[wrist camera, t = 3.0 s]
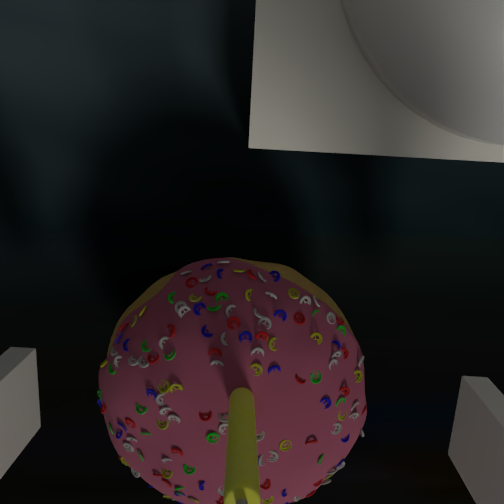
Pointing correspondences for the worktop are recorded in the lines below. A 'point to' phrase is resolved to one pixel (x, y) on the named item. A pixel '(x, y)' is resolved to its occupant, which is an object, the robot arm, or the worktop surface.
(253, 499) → the cupcake
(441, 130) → the scale
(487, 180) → the worktop surface
